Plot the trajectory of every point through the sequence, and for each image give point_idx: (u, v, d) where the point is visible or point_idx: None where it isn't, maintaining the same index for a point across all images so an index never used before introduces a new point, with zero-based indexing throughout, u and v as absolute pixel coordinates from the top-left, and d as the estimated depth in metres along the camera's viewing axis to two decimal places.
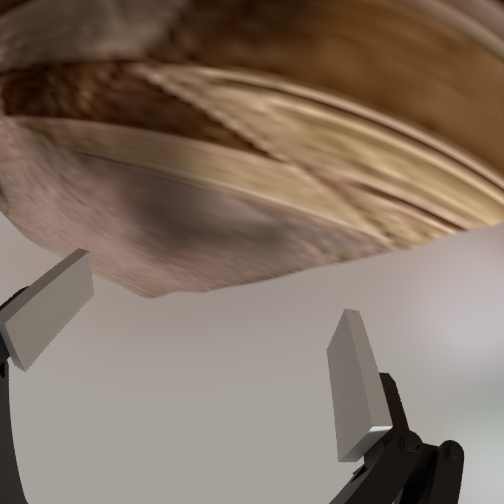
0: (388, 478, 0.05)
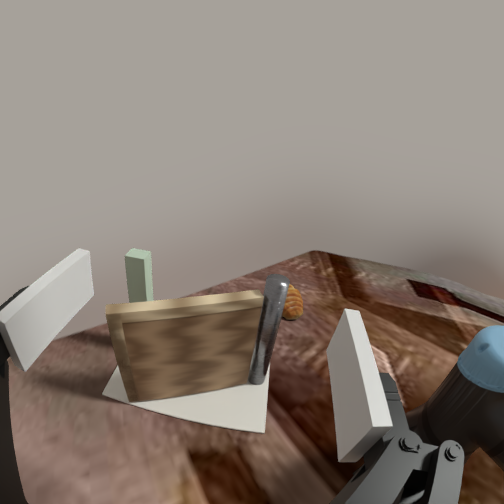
0: (388, 478, 0.05)
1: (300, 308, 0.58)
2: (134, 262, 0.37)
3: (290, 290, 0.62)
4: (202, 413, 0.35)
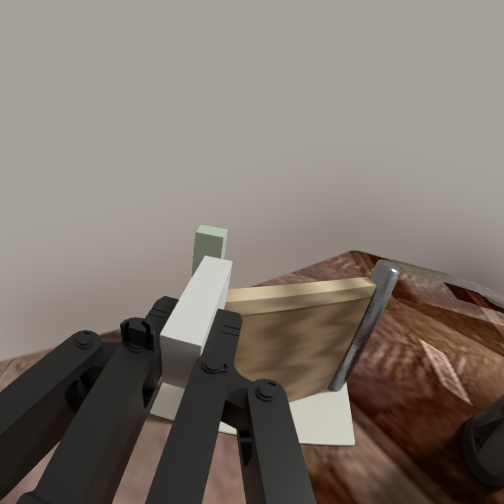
0: (203, 403, 0.07)
1: None
2: (208, 241, 0.30)
3: None
4: None
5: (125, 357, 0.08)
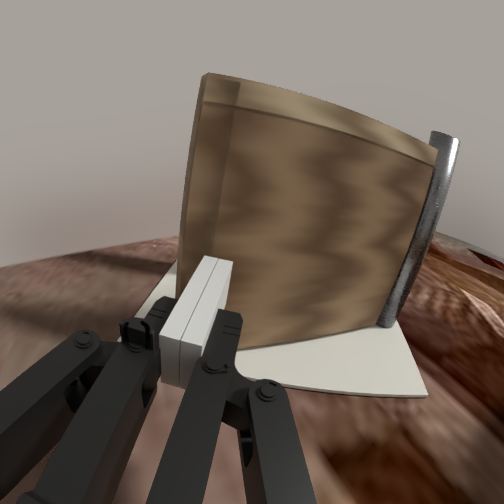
0: (204, 404, 0.07)
1: None
2: None
3: None
4: (326, 373, 0.19)
5: (124, 357, 0.08)
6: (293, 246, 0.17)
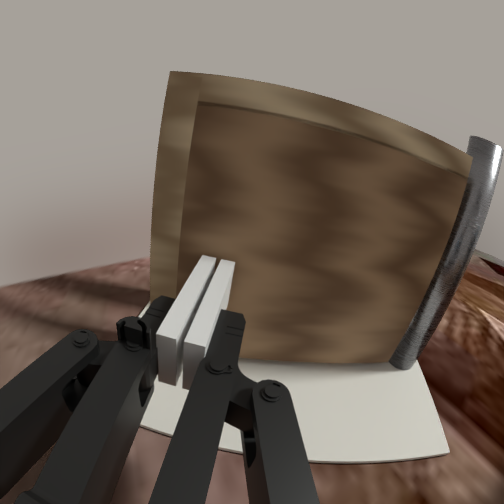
0: (207, 405, 0.07)
1: None
2: None
3: None
4: (335, 439, 0.14)
5: (121, 356, 0.08)
6: (270, 254, 0.16)
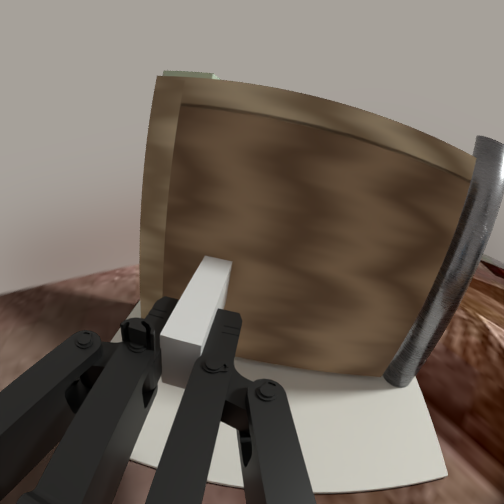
0: (203, 403, 0.07)
1: None
2: None
3: None
4: (326, 468, 0.12)
5: (125, 357, 0.08)
6: (250, 252, 0.16)
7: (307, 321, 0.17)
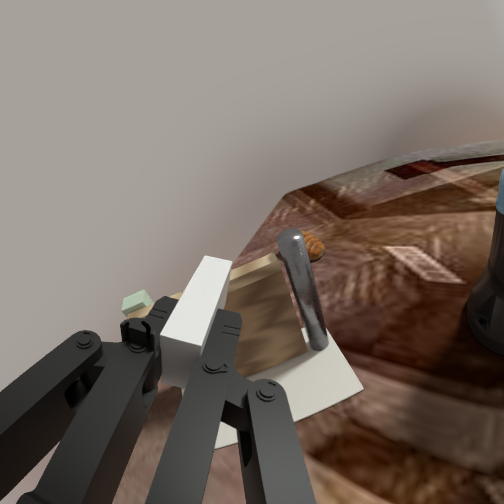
0: (203, 403, 0.07)
1: (319, 242, 0.56)
2: None
3: None
4: (294, 409, 0.32)
5: (125, 357, 0.08)
6: None
7: (251, 355, 0.36)
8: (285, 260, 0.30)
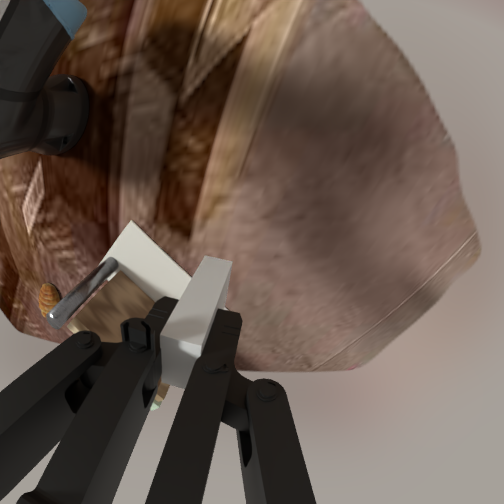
0: (203, 403, 0.07)
1: (42, 289, 0.53)
2: None
3: (43, 309, 0.54)
4: (163, 262, 0.48)
5: (125, 357, 0.08)
6: None
7: (139, 309, 0.47)
8: (68, 316, 0.35)
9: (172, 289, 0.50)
